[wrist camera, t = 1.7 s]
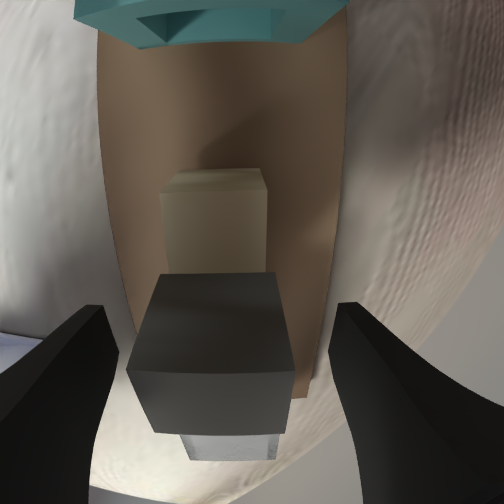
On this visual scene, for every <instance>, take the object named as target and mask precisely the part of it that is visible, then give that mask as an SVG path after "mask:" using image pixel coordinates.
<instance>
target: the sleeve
mask: <svg viewBox="0 0 504 504" xmlns="http://www.w3.org/2000/svg"><path fill="white" fill-rule="evenodd" d="M279 436H280V434H270V435H248V436H202V435H181V434H180V437H181V439H182V442H183V444H184V447H185V449H186V452H187V454H188V456H189V459H190V460H201V461H254V460H272V459H276V453H277V448H278V442H279Z"/></svg>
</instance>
